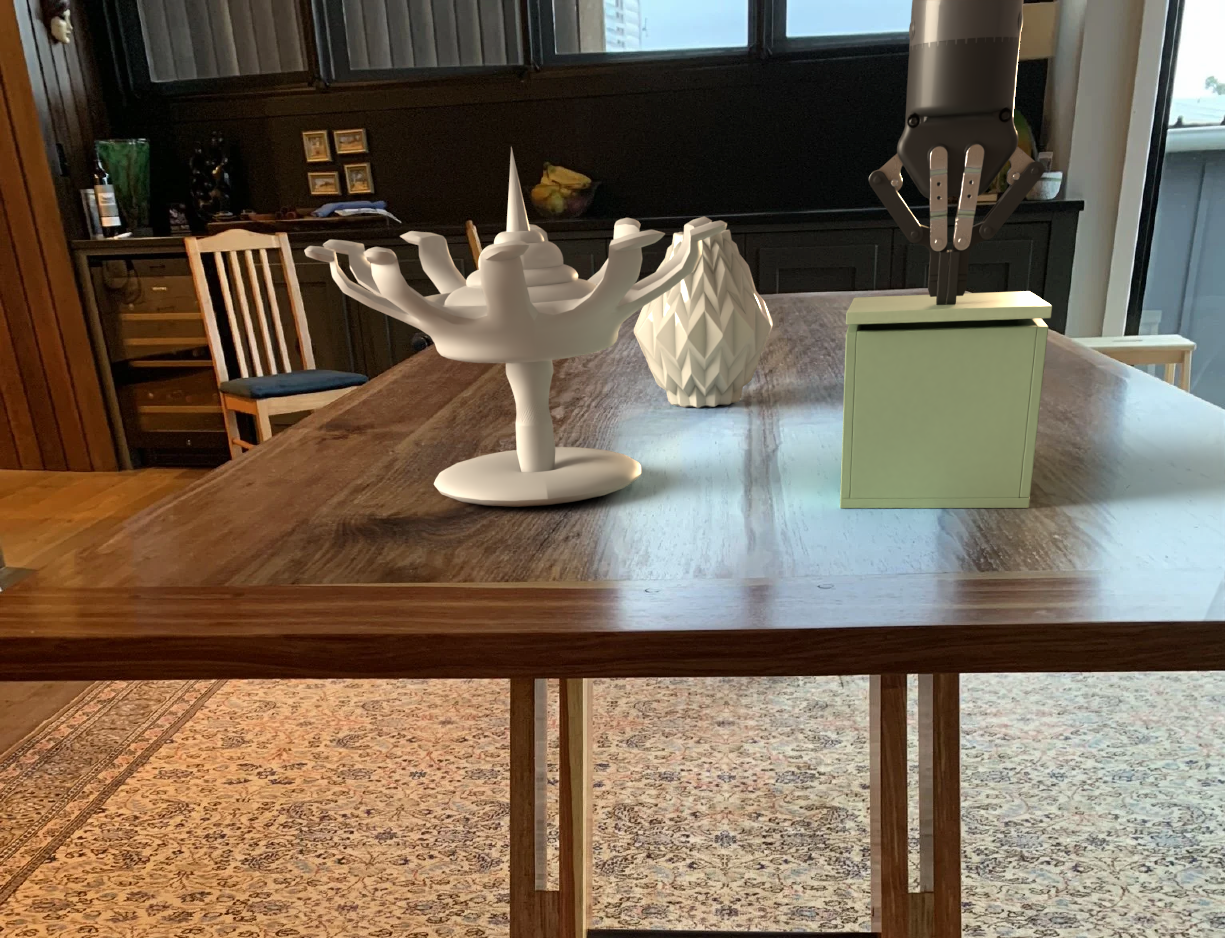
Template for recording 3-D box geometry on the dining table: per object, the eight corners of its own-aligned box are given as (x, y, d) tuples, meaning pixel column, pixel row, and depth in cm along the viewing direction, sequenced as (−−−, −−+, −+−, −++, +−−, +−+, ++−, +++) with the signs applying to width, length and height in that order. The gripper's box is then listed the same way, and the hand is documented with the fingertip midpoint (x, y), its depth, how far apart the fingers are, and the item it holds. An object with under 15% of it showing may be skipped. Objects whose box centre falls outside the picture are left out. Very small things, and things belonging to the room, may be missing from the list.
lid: (1050, 318, 88) (1052, 305, 87) (845, 324, 91) (846, 312, 90) (1028, 302, 103) (1029, 291, 102) (853, 308, 106) (854, 297, 105)
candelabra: (413, 451, 128) (375, 158, 115) (745, 444, 122) (744, 135, 109) (281, 540, 98) (211, 160, 86) (711, 537, 92) (704, 127, 79)
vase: (738, 417, 135) (737, 234, 127) (612, 411, 143) (603, 238, 134) (795, 393, 147) (797, 224, 139) (675, 389, 155) (671, 228, 146)
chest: (1029, 508, 95) (1048, 326, 89) (839, 508, 98) (845, 332, 92) (1012, 462, 109) (1028, 302, 103) (847, 463, 112) (853, 308, 106)
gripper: (1057, 34, 87) (1031, 295, 95) (869, 49, 90) (859, 301, 98) (1070, 25, 81) (1040, 306, 89) (867, 41, 83) (856, 312, 91)
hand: (945, 303), depth 93 cm, fingers closed
